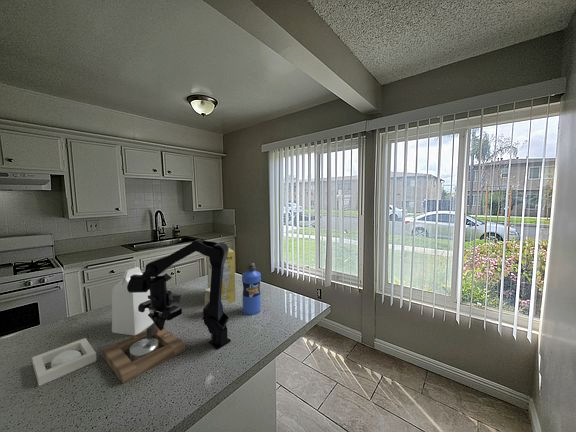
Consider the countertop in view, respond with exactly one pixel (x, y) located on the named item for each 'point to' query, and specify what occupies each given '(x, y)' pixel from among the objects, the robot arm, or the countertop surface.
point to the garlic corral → (65, 368)
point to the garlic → (65, 357)
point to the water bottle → (251, 290)
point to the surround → (133, 369)
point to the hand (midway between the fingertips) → (161, 329)
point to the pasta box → (226, 278)
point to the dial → (145, 344)
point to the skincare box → (207, 296)
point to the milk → (129, 307)
